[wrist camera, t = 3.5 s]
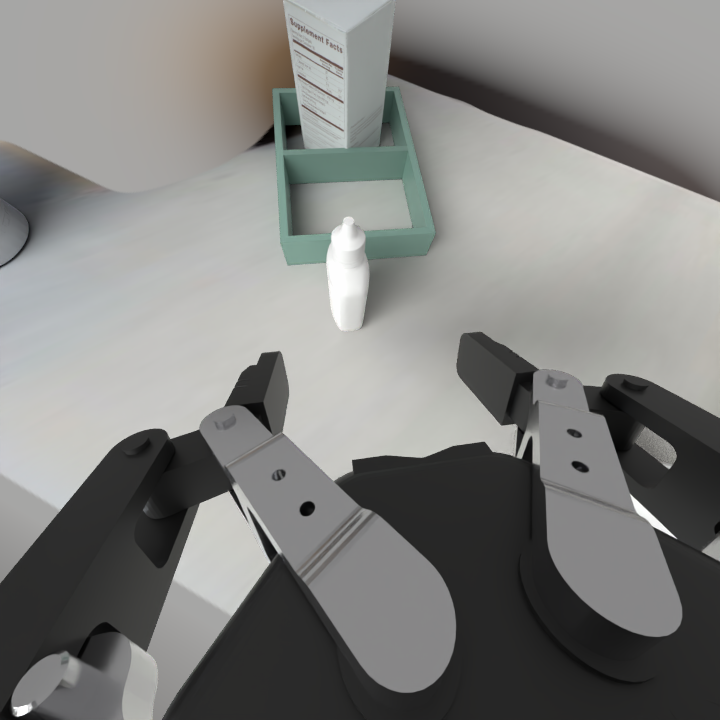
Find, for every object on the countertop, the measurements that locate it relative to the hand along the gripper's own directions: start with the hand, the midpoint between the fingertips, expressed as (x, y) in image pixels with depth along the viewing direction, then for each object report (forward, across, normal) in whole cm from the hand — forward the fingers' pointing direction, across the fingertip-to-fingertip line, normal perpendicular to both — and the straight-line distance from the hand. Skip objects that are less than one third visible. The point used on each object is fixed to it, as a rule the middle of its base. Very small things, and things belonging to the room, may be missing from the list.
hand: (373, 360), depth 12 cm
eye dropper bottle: (+18, 0, +3) cm, 18 cm away
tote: (+30, -2, -9) cm, 31 cm away
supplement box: (+34, -2, -14) cm, 37 cm away
